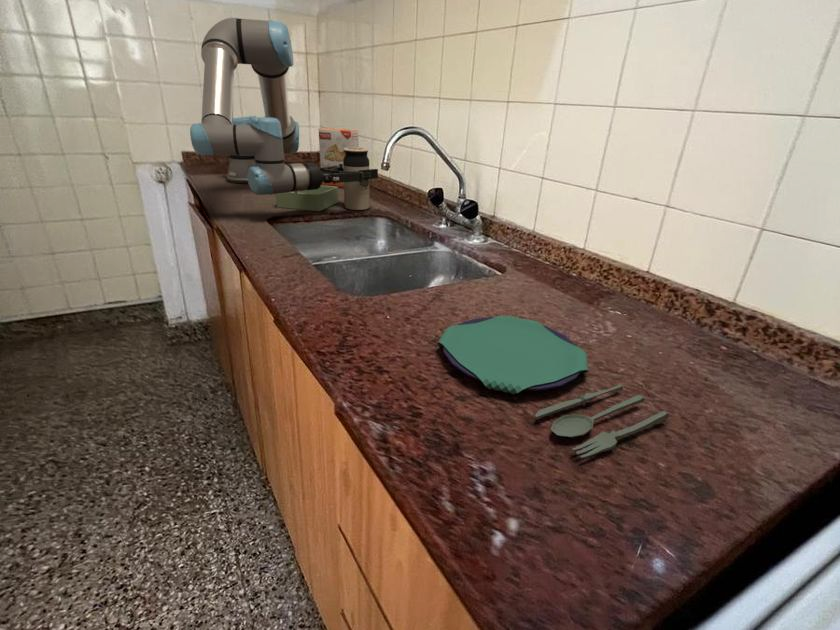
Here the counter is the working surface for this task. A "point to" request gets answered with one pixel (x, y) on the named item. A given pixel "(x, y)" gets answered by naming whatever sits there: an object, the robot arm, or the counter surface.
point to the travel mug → (356, 191)
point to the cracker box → (335, 147)
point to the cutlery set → (534, 371)
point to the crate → (309, 199)
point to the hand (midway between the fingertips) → (369, 171)
